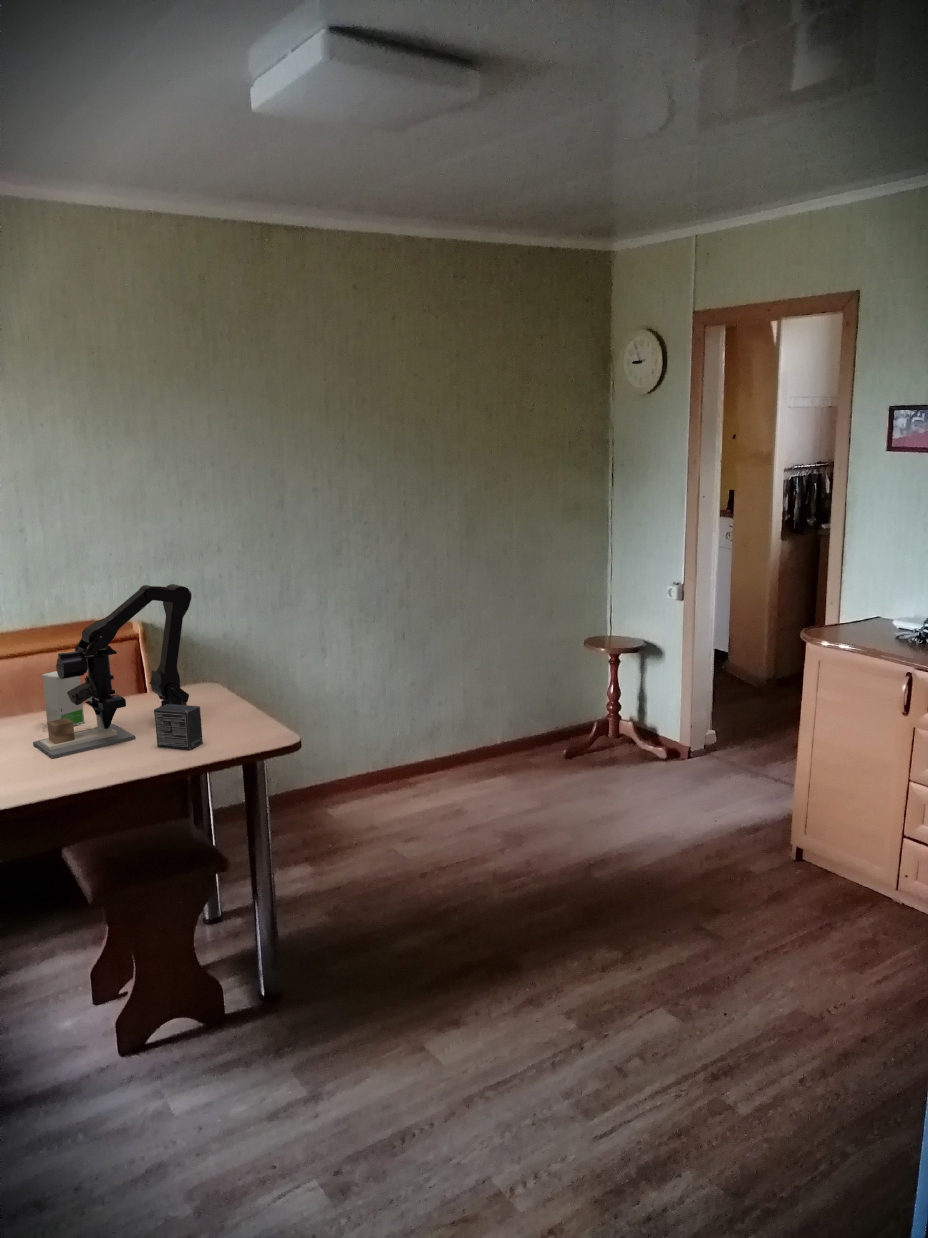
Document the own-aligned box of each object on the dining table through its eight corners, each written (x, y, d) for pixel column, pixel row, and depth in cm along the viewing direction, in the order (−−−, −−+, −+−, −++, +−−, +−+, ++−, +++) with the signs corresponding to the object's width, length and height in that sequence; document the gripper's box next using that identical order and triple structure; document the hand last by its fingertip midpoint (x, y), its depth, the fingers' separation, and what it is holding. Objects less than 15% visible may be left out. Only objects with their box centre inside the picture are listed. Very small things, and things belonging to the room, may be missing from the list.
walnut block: (68, 735, 260) (66, 717, 259) (75, 739, 256) (73, 721, 255) (49, 740, 257) (47, 722, 256) (55, 744, 253) (53, 726, 252)
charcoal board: (113, 727, 273) (113, 723, 273) (135, 739, 262) (135, 735, 262) (33, 745, 259) (32, 741, 259) (52, 758, 248) (52, 755, 248)
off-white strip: (107, 729, 268) (105, 710, 267) (117, 735, 263) (115, 715, 262) (40, 744, 256) (38, 724, 255) (49, 750, 251) (47, 730, 250)
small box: (204, 743, 258) (201, 705, 256) (190, 751, 252) (187, 712, 250) (171, 739, 261) (167, 702, 259) (156, 747, 255) (152, 709, 253)
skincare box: (60, 730, 271) (54, 677, 268) (46, 727, 274) (39, 674, 271) (86, 722, 278) (80, 670, 275) (71, 719, 281) (65, 667, 278)
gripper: (56, 671, 262) (62, 726, 265) (81, 684, 248) (87, 742, 251) (97, 664, 269) (102, 718, 272) (124, 676, 256) (129, 732, 259)
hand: (104, 727), depth 264 cm, fingers closed on off-white strip, 2 cm apart
